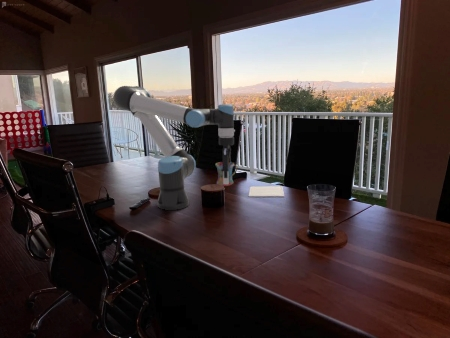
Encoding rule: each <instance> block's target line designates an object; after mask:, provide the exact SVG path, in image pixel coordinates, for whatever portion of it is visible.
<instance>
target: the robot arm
mask: <svg viewBox="0 0 450 338" xmlns="http://www.w3.org/2000/svg"><path fill="white" fill-rule="evenodd" d="M112 98H113V102H114V104H115V106H116V107H118V108H119V109H120V110H122V111H126V112H127V111H129V112H130V113H131V115H132V116H133V118H138V119H139V121H140V122H141V123H142V125H143V127H144V129H146V131H147V133H148V134H149V135H150V137H151V138H152V140H153V141H154V143H155V144H156V146H157V147H158V148H159V150H160V151H161V153H162V154H163V156H164V157H162V158H161V159H159V160H158V162H157V170H158V180H159V195H158V199H157V208H158V207H159V208H161V209H160V210H162V209H165V210H164V211H177V209H178V210H182V209H186V208H187V207H189V206H190V200H189V197H188V194H187V192H186V190H185V179H186V178H188V177H190V176H191V175H192V174H193V173H194V171H195V169H196V164H197V163H196V160H195V157H193V156H192V155H191V154H189V153H187V152H186V150H185V149H184V148H183V147H179V145H178V144H177V142H176V141H175V139H174V138H173V136H172V135H171V134H170V132H169V131H168V129H167V127H166V126H165V125H164V123H163V122H162V121H161V119H160V118H164V119H167V120H171V121H174V122H178V123H181V124H186V125H188V126H189V127H191V128H199V127H203V126H207V125H208V126H209V125H217V126H218V130H217V131H218V145H219V146H223V148H222V149H221V153H222V154H221V155H222V162H223V168H222V170H221V171H223V184H229V171H228V163H229V162H232V161H231V160H232V158H231V155H232V152H231V151H232V148H231V146H233V145H235V137H234V136H235V132H236V129H234V127H235V124H234V123H235V122H234V121H235V113H234V112H235V111H234V105H232V104H231V103H230V104H228V103H227V104H218V105H217V108H192V107H189V106H184V105H181V104H178V103H173V102H169V101H165V100H161V99H157V98H153V97H152V96H151V94H150V92H149V91H148V90H147V89H146V88H144V87H143V86H139V85H137V86H136V85H135V86H132V85H131V86H130V85H122V86H119V87H118V88H116V90H115V91H114V93H113V97H112ZM159 208H158V209H159Z"/></svg>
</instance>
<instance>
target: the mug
mask: <svg viewBox="0 0 450 338" xmlns="http://www.w3.org/2000/svg"><path fill="white" fill-rule="evenodd" d="M215 167H216V168H217V173H218V175H217V177H218V178H217V180H216V185H218V186H223V187H224V186H225V187H227V186H232V185H233V184H234V180H233V176H234V175H235V174H236V173H237V171H238V167H239V166H238V165H236V164H235V162H232V161H231V162H229V163H228V171H229V184H223V171H221V170H222V168H223V161H220V162H216V163H215ZM234 167H236V169H235V171H234V172H233V169H234Z"/></svg>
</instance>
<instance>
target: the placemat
mask: <svg viewBox="0 0 450 338" xmlns="http://www.w3.org/2000/svg"><path fill="white" fill-rule="evenodd" d="M248 197H249V198H285V193H284V188H283V186H282V185H281V186H274V185H273V186H271V185H270V186H268V185H267V186H250V187H249V192H248Z"/></svg>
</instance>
